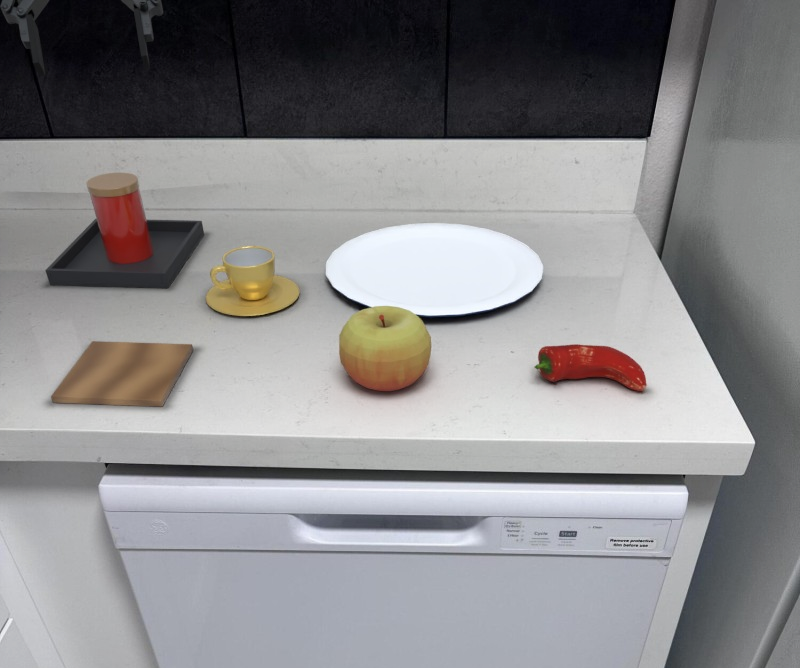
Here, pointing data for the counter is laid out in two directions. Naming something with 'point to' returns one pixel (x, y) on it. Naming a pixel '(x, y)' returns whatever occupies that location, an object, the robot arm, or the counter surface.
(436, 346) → the counter surface
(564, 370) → the vegetable
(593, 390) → the counter surface
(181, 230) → the tray
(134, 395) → the board
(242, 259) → the cup
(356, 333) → the apple
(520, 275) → the plate
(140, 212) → the spice jar
